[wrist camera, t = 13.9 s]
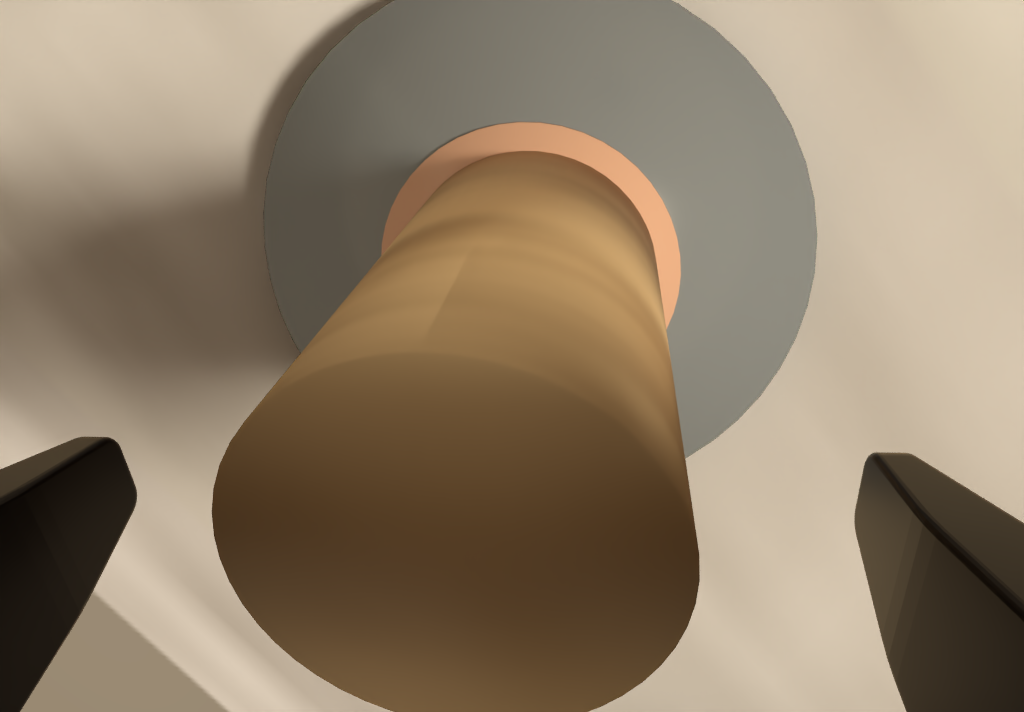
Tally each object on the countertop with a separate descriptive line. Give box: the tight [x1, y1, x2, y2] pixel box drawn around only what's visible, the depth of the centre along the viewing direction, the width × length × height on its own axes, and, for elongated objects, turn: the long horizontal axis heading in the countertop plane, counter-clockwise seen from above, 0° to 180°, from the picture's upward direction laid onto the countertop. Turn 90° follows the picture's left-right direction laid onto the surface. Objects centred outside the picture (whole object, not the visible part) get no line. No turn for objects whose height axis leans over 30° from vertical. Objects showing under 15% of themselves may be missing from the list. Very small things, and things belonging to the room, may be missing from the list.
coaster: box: [264, 0, 817, 458], centre depth 15 cm, size 11×11×1 cm
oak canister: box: [212, 151, 699, 712], centre depth 11 cm, size 5×5×8 cm
